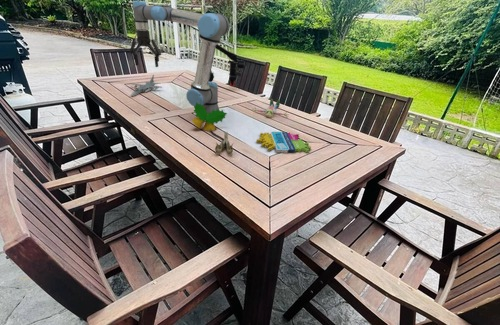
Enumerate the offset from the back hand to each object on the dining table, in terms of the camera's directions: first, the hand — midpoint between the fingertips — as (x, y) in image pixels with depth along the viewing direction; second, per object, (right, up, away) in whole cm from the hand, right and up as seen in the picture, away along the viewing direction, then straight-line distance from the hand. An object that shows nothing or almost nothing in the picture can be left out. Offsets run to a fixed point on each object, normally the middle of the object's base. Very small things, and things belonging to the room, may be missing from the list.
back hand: (232, 85), depth 250 cm
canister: (0, -1, +1) cm, 1 cm away
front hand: (-51, -10, -77) cm, 93 cm away
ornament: (-9, -53, -85) cm, 101 cm away
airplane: (-75, -11, -19) cm, 78 cm away
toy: (+34, -36, -49) cm, 69 cm away
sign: (+36, -63, -97) cm, 121 cm away
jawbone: (+3, -69, -111) cm, 131 cm away
